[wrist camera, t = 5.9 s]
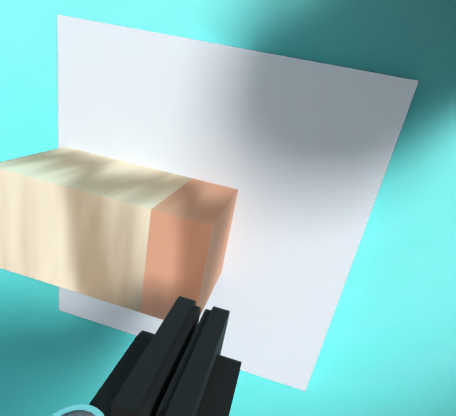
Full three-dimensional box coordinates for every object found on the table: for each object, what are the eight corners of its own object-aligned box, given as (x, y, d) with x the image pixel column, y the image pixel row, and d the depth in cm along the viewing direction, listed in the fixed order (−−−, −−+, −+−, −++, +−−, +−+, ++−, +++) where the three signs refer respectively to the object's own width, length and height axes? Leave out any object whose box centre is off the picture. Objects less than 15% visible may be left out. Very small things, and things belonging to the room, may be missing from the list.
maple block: (212, 225, 13) (-14, 165, 14) (193, 329, 15) (-5, 266, 16) (238, 189, 17) (65, 146, 19) (221, 271, 19) (65, 226, 21)
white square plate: (414, 81, 15) (419, 80, 14) (305, 383, 21) (305, 391, 21) (65, 16, 17) (57, 14, 16) (64, 304, 24) (58, 310, 23)
